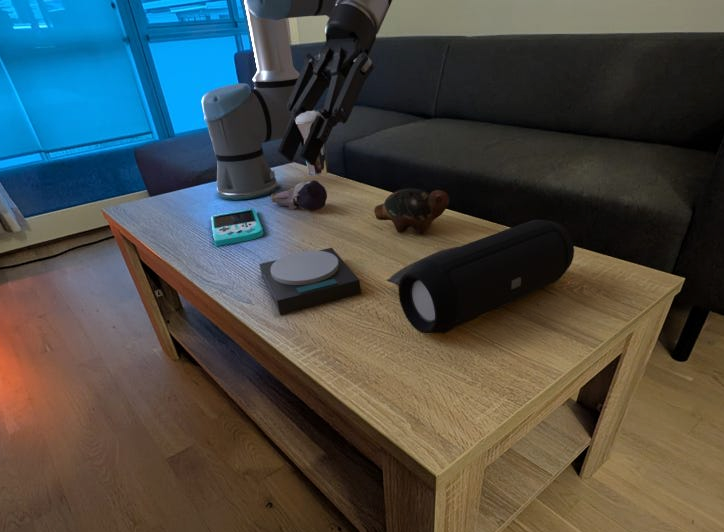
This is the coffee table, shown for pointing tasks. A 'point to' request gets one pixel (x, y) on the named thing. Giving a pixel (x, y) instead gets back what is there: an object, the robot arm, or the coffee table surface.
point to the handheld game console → (236, 227)
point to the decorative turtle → (412, 209)
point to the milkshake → (304, 127)
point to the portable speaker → (484, 275)
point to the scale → (308, 280)
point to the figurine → (303, 196)
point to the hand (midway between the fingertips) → (295, 158)
